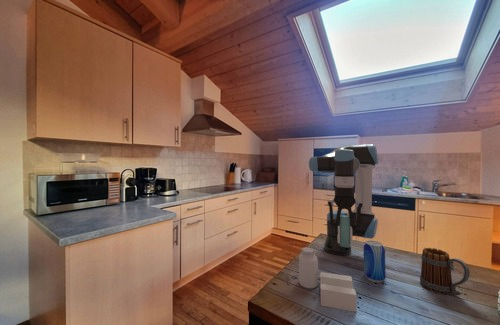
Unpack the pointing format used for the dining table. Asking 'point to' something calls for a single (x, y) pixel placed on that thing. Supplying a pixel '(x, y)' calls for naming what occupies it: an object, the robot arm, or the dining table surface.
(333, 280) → the socket
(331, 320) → the dining table surface
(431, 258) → the mug
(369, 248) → the beer can
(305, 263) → the pill bottle
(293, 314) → the dining table surface
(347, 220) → the peg
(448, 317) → the dining table surface
